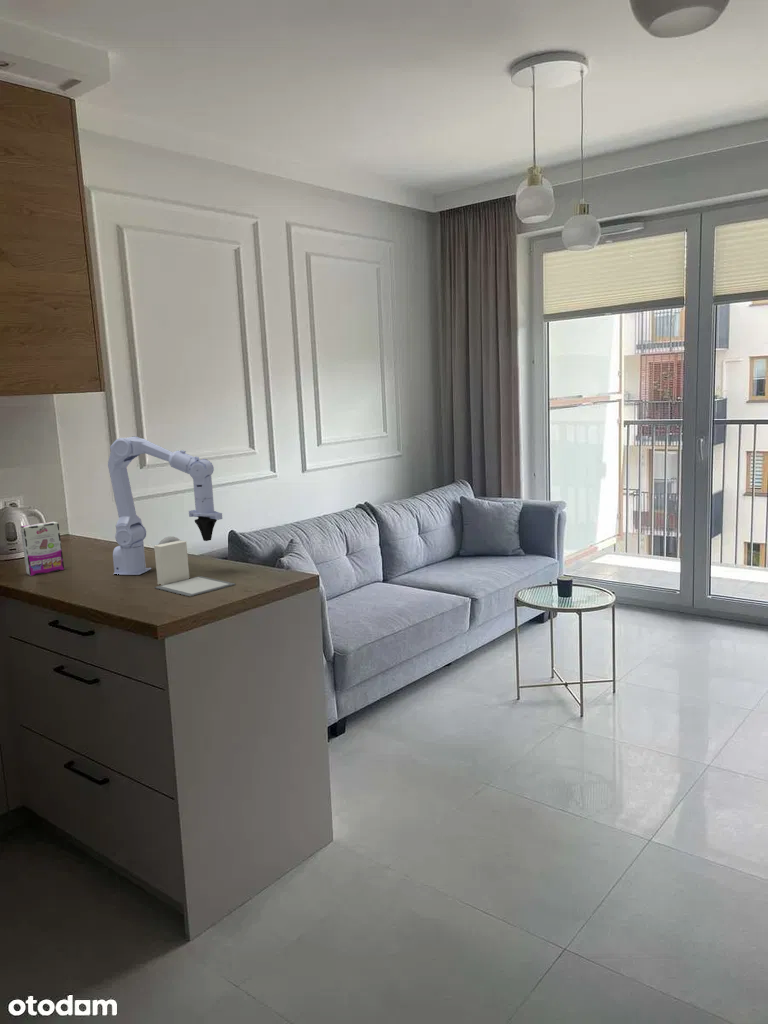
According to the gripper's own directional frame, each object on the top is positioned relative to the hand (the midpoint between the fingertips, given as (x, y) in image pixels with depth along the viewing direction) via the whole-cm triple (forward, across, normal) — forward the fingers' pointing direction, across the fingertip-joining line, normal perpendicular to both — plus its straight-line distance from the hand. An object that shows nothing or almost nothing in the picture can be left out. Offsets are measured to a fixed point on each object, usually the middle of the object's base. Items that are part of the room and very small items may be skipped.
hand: (207, 540), depth 242 cm
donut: (+11, -20, 0) cm, 23 cm away
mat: (+10, +11, -14) cm, 21 cm away
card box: (+10, 0, -14) cm, 17 cm away
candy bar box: (+11, -52, -28) cm, 60 cm away
